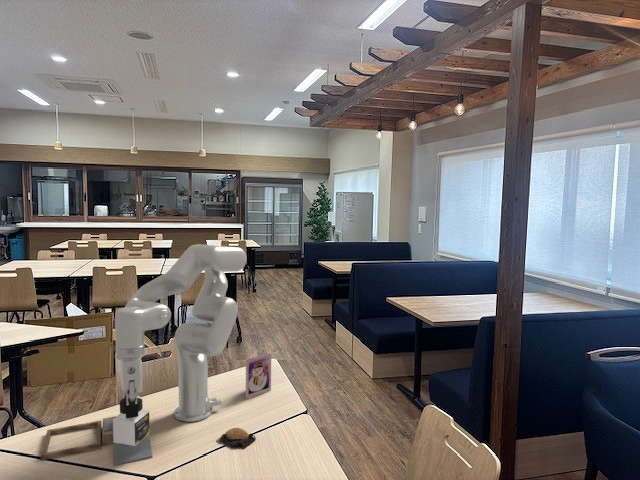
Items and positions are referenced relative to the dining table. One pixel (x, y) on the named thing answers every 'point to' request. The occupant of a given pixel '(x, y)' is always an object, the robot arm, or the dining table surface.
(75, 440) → the dining table surface
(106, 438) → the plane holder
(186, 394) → the robot arm
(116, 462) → the slate mat
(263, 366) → the greeting card
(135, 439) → the medicine bottle
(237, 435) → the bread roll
